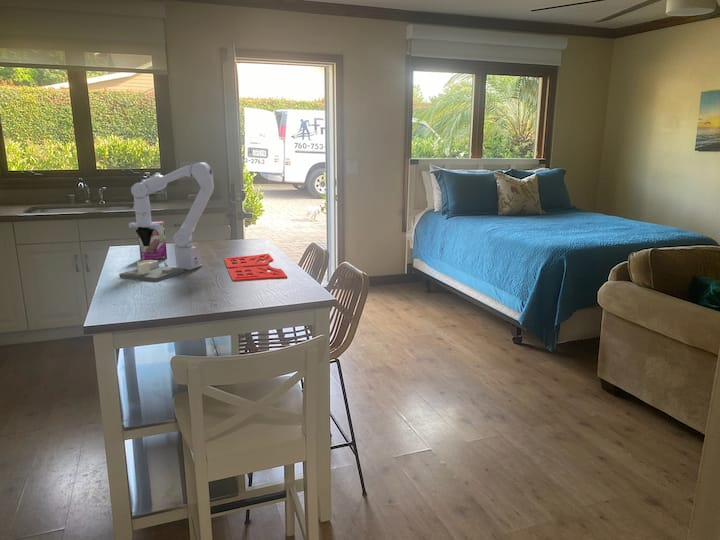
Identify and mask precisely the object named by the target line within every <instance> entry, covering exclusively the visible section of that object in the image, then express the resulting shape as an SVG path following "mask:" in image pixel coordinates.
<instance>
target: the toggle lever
mask: <svg viewBox="0 0 720 540" xmlns="http://www.w3.org/2000/svg"><path fill="white" fill-rule="evenodd" d="M160 260H161V261H162V262H163V265H164V267H168V264H167V261H166V260H167V259H166V258H165V257H162V258H161V259H160Z"/></svg>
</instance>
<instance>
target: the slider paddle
mask: <svg viewBox="0 0 720 540" xmlns="http://www.w3.org/2000/svg"><path fill="white" fill-rule="evenodd" d="M137 266H138V274H142V275H143V274H146V273H149V272H150V266H149V262H144V263H140V264H137V263H136V267H137Z"/></svg>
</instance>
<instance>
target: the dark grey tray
mask: <svg viewBox="0 0 720 540" xmlns="http://www.w3.org/2000/svg"><path fill="white" fill-rule="evenodd" d="M149 261H151V262H152V263H149V266H150V272H149V273H146V274H143V275H142V274H138V266H137V264H140V263H143V262H149ZM183 272H184V269H179V268H172V267H165V266H160V261H159V260H142V261H141V260H140V261H138V262H136V268H135V269H131V270H128V271H124V272H121V273H119V275H118V276H119V278H121V279H127V278H130V279H129V280H136V279H138V280H137V281H145V280H146V281H147V282H154V281H155V282H160V281H163V280H166V279H169V278H172V277H175V276H177V275H180V274H184V273H183Z"/></svg>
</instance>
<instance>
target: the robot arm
mask: <svg viewBox="0 0 720 540" xmlns="http://www.w3.org/2000/svg"><path fill="white" fill-rule="evenodd" d="M184 177H189V178H191V177H193V178H194V179H195V180H196V181H197V183H198V185H199V187H200V188H199V192H198V193H197V195H196V197H195V199H194V202H193V203H192V205H191V207H190V210H189V211H188V213H187V215H186V217H185V220H184V221H183V223H182V224H181V226H180V228H179V230H178V231H177V232H175V233H174V234H173V236H172V242H173V244H174V253H175V263H176V265H173V266H171V268H179V269H183V270H188V271H190V270H194V269H196V268H199V267H202V266H203V264H202V260H201V251H200V249H199V247H196V246H194V243H193V242H192V240H193V239H194V231H195V229H196V226H197V224H198V222H199V220H200V218H201V216H202V214H203V212H204V210H205V208H206V206H207V204H208V202H209V200H210V198H211V196H212V195H213V192H214V189H215V183H214V172H213V169H212V168H211V166H210V165H209V164H208V162H204V161H201V162H196V163H194V164H190V165H189V164H188V165H186V166H185V165H184V166H182V167H181V168H178V169H176V170H173V171H171V172H169V173H167V174H165V175H162V174H158V173H157V174H156V173H155V174H153V175H152V176H151V177H149V178H147V179H141V182H136V183H134V184H133V185H132V186H131V188H130V192H131V195H132V196H133V203H134V204H133V205H134V213H135V222H128V227H129V229H131V228H135V229H136V230H135V232H136V234H137V235H139V237H140V238H141V241H142V243H143V246H150V240H151V236H152V233H153V231H154V229H155V230H158V229H161V228H160V224H155V223H152V222H153V221H152V214H151V213H152V211H151V203H150V196H149V195H150V194H153V193H154V194H155V193H156V192H158V191H161V190H162V189H165V188H167V185H168V184H169V183H170V182H173V181H174V182H175V181H176V180H178V179H181V178H184ZM139 237H138V238H139Z"/></svg>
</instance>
